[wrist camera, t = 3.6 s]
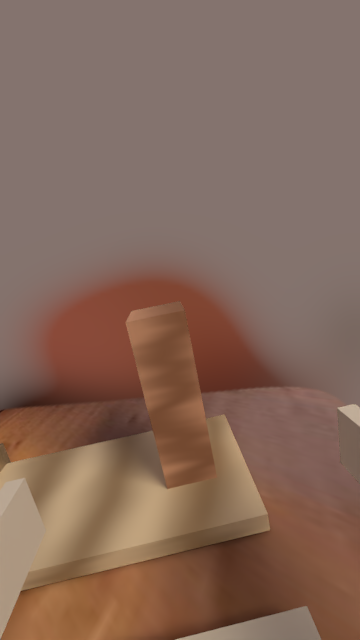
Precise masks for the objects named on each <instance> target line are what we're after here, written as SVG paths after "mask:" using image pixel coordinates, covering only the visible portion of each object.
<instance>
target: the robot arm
mask: <svg viewBox="0 0 360 640" xmlns="http://www.w3.org/2000/svg"><path fill="white" fill-rule="evenodd" d="M337 413H338V430H339V447H340V463H341V464H342V465H343V466H344V467H345V468H346V469H347V470H348V471H349V473H350V474H351V475H352V476H353V477H354V478H355V479H356V480H357V481H358V483H359V484H360V408H359V407H358V406H357V405H355V404H353V405H348V406H344V407H339V408H337ZM45 532H46V529H45V527H44V524H43V522H42V519H41V517H40V514H39V512H38V509H37V507H36V504H35V502H34V499H33V497H32V494H31V492H30V489H29V487H28V484H27V482H26V479H25V478H22V479H17V480H13V481H8V482H6V483H5V484H4V485H3V487H2V488H1V490H0V639H1V637H2V634H3V632H4V630H5V627H6V625H7V622H8V620H9V618H10V615H11V613H12V610H13V608H14V606H15V603H16V601H17V598H18V596H19V594H20V591H21V589H22V587H23V584H24V582H25V579H26V577H27V575H28V572H29V570H30V567H31V565H32V563H33V560H34V558H35V555H36V553H37V551H38V548H39V546H40V544H41V541H42V539H43V536H44V534H45Z"/></svg>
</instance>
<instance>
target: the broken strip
mask: <svg viewBox="0 0 360 640" xmlns="http://www.w3.org/2000/svg"><path fill="white" fill-rule="evenodd" d="M176 640H321V637H320V635H319V633H318V631H317V628H316V626H315V624H314V621H313V619H312V617H311V614H310V612H309V610H308V607H307V606H304V607H300V608H296V609H293V610H289V611H285V612H281V613H277V614H273V615H269V616H265V617H261V618H258V619H254V620H250V621H246V622H242V623H238V624H234V625H230V626H226V627H222V628H219V629H215V630H211V631H207V632H203V633H199V634H195V635H191V636H187V637H184V638H180V639H176Z"/></svg>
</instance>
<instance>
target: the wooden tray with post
mask: <svg viewBox="0 0 360 640" xmlns="http://www.w3.org/2000/svg"><path fill="white" fill-rule="evenodd" d="M126 326H127V329H128V334H129V338H130V342H131V345H132V350H133V353H134V357H135V361H136V366H137V369H138V373H139V378H140V382H141V386H142V389H143V393H144V398H145V402H146V406H147V410H148V413H149V417H150V421H151V425H152V429H153V431H149V432H145V433H140V434H136V435H132V436H127V437H123V438H118V439H114V440H109V441H105V442H100V443H96V444H91V445H87V446H83V447H78V448H74V449H69V450H65V451H60V452H56V453H51V454H47V455H43V456H38V457H34V458H29V459H25V460H20V461H16V462H10V459H9V457H8V454H7V452H6V449H5V447H4V445H3V443H2V444H0V490H1V488H2V487H3V485H4V484H5V483H6V482H8V481H13V480H17V479H22V478H25V479H26V482H27V484H28V487H29V489H30V492H31V494H32V497H33V499H34V502H35V504H36V507H37V509H38V512H39V514H40V517H41V519H42V522H43V524H44V527H45V529H46V532H45V534H44V536H43V539H42V541H41V544H40V546H39V548H38V551H37V553H36V555H35V558H34V560H33V563H32V565H31V567H30V570H29V572H28V575H27V577H26V579H25V582H24V584H23V587H22V589H21V591H23V590H27V589H31V588H35V587H39V586H43V585H47V584H51V583H56V582H60V581H64V580H68V579H72V578H76V577H80V576H84V575H88V574H92V573H97V572H101V571H105V570H109V569H113V568H117V567H121V566H125V565H129V564H133V563H138V562H142V561H146V560H150V559H154V558H158V557H162V556H166V555H170V554H174V553H179V552H183V551H187V550H191V549H195V548H199V547H203V546H207V545H211V544H215V543H220V542H224V541H228V540H232V539H236V538H240V537H244V536H248V535H252V534H257V533H261V532H265V531H269V530H270V525H269V519H268V513H267V511H266V509H265V506H264V504H263V502H262V500H261V497H260V495H259V493H258V490H257V488H256V486H255V483H254V481H253V479H252V477H251V474H250V472H249V470H248V467H247V465H246V463H245V461H244V458H243V456H242V454H241V451H240V449H239V447H238V444H237V442H236V440H235V438H234V435H233V433H232V431H231V428H230V426H229V424H228V422H227V419H226V417H225V415H220V416H216V417H212V418H207V419H206V417H205V412H204V407H203V402H202V397H201V392H200V387H199V381H198V376H197V371H196V366H195V361H194V356H193V350H192V345H191V340H190V336H189V330H188V325H187V319H186V314H185V310H184V308H183V306H182V305H181V303H180V301H178V302H174V303H169V304H164V305H159V306H154V307H149V308H145V309H140V310H135V311H131V313H130V315H129V317H128V319H127V321H126Z"/></svg>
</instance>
